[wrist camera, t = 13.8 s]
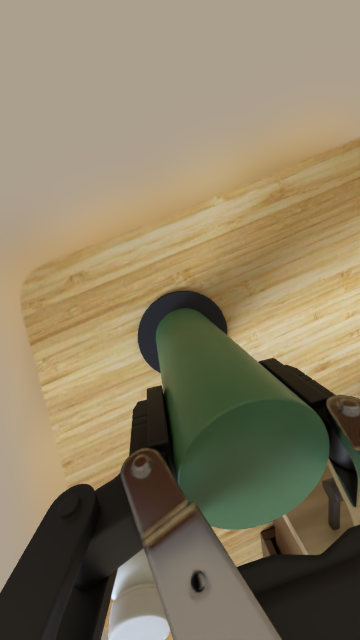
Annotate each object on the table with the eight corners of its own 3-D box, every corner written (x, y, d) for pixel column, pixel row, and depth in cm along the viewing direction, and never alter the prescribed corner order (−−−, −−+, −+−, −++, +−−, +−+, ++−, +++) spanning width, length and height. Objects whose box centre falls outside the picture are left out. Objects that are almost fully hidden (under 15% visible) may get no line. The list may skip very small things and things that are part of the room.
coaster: (149, 383, 20) (149, 386, 20) (128, 301, 18) (127, 302, 18) (230, 364, 21) (231, 366, 21) (219, 282, 19) (221, 283, 18)
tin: (162, 367, 20) (192, 549, 7) (150, 314, 18) (161, 425, 6) (215, 355, 20) (330, 503, 8) (207, 302, 19) (332, 379, 6)
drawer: (258, 436, 23) (326, 539, 14) (364, 406, 24) (484, 483, 15) (270, 562, 28) (324, 690, 20) (356, 532, 30) (441, 639, 21)
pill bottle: (132, 458, 22) (123, 601, 13) (177, 473, 23) (198, 613, 14) (107, 497, 23) (80, 660, 13) (151, 510, 24) (155, 666, 15)
